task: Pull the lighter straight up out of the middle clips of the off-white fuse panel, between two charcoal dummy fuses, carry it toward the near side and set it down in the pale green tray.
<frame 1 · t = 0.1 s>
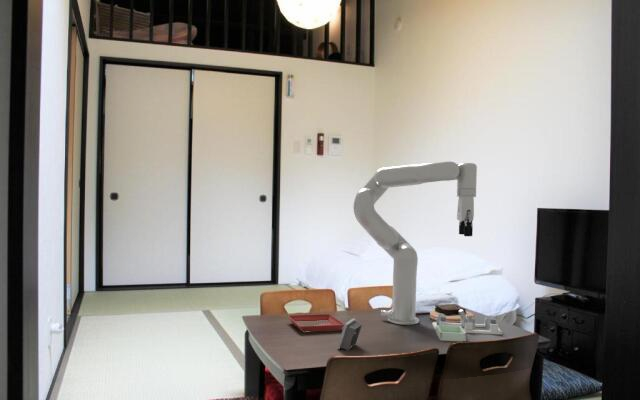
hand: (465, 235, 219), 37 cm above the table, tool pointing down, fingers open, 9 cm apart
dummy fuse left: (441, 328, 212), resting in fuse panel
electrical switch: (349, 347, 182), on the table
tray: (450, 336, 199), on the table
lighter: (466, 329, 211), resting in fuse panel
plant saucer: (315, 328, 208), on the table
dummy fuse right: (490, 330, 210), resting in fuse panel
fuse panel: (466, 329, 211), on the table
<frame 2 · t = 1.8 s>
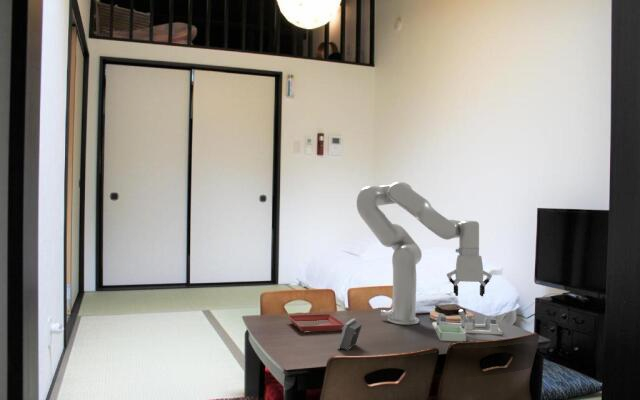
hand: (469, 295, 211), 13 cm above the table, tool pointing down, fingers open, 9 cm apart
nothing on the table moved.
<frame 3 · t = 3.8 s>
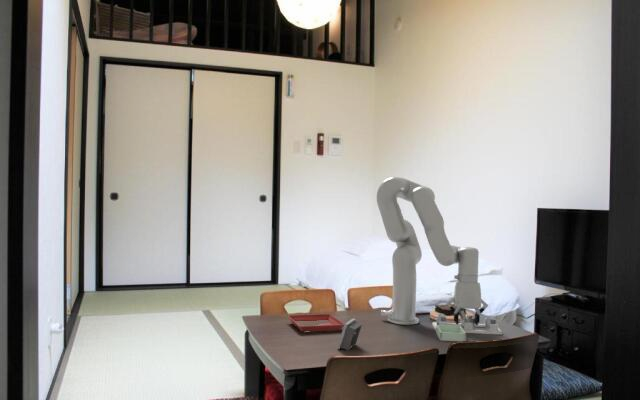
hand: (466, 323, 211), 2 cm above the table, tool pointing down, fingers closed on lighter, 7 cm apart
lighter: (466, 329, 211), resting in fuse panel, touching gripper
everything else where it was.
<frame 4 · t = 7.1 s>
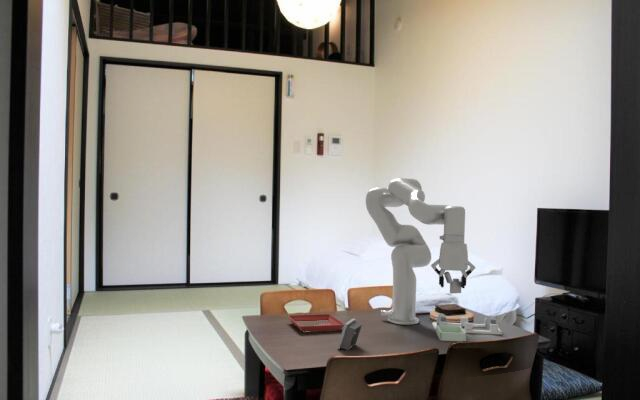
hand: (452, 286, 199), 19 cm above the table, tool pointing down, fingers closed on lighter, 7 cm apart
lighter: (452, 293, 199), point 16 cm above the table, touching gripper
everything else where it was.
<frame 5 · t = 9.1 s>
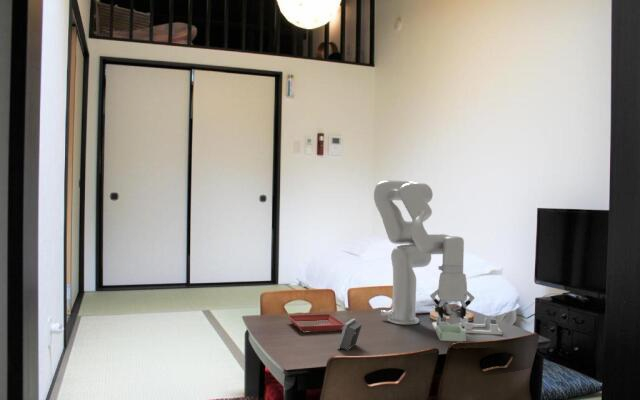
hand: (451, 317, 199), 7 cm above the table, tool pointing down, fingers closed on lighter, 7 cm apart
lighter: (451, 324, 199), point 5 cm above the table, touching gripper
everything else where it was.
when the fingers open (4 cm above the table, at t = 10.8 s): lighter drops 1 cm, resting on tray.
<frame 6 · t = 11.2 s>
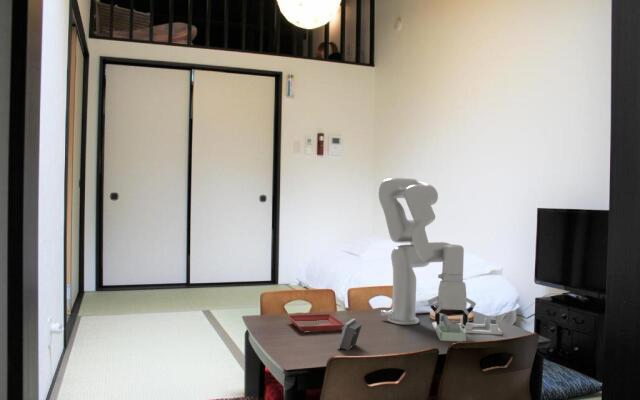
hand: (451, 324, 199), 5 cm above the table, tool pointing down, fingers open, 9 cm apart
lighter: (449, 336, 199), resting on tray
everything else where it was.
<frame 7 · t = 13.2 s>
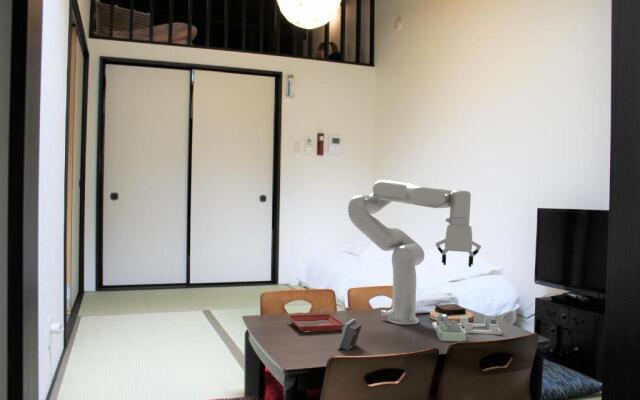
hand: (457, 265, 210), 25 cm above the table, tool pointing down, fingers open, 9 cm apart
nothing on the table moved.
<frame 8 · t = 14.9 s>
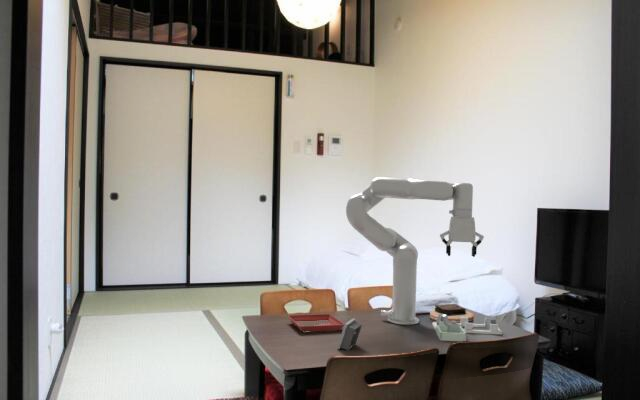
hand: (461, 256, 216), 28 cm above the table, tool pointing down, fingers open, 9 cm apart
nothing on the table moved.
at the end: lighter inside the target area on the tray (0.3 cm from its centre), point 0.3 cm above the tray's base; the gripper is holding nothing; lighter moved 15.4 cm from its start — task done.
